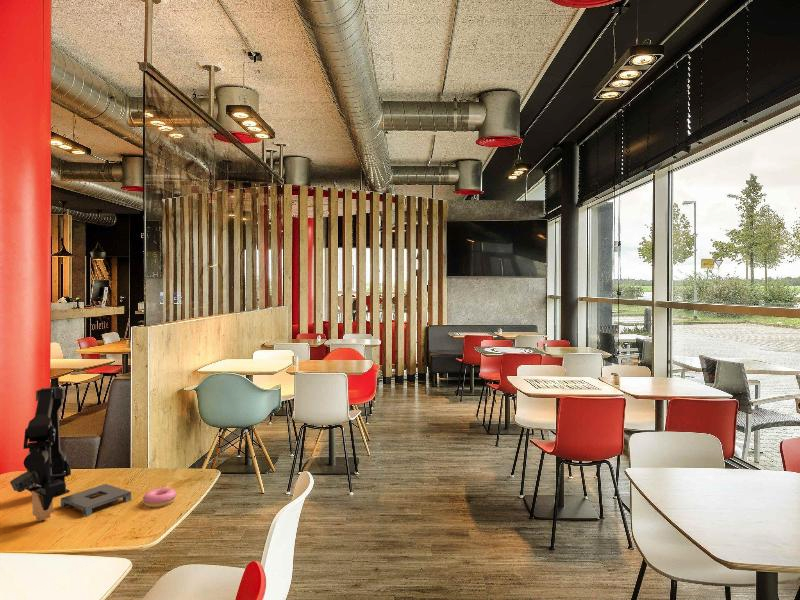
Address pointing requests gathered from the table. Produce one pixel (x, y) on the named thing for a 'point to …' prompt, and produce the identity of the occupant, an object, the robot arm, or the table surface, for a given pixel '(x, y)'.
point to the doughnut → (159, 497)
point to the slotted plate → (87, 504)
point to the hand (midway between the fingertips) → (42, 509)
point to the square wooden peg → (40, 506)
